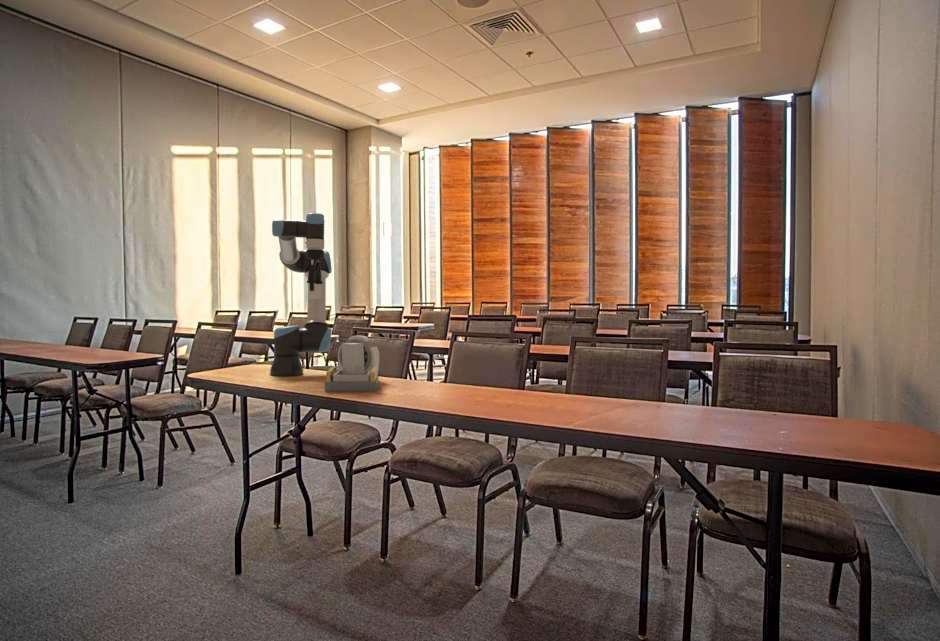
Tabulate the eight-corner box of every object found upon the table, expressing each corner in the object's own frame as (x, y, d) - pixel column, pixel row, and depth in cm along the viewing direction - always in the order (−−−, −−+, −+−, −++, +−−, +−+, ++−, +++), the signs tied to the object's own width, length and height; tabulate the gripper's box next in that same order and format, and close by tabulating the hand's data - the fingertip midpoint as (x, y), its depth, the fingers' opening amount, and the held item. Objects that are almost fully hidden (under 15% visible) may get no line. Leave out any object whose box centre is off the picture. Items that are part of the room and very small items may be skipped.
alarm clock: (336, 380, 257) (336, 335, 256) (345, 377, 265) (345, 334, 264) (372, 382, 252) (372, 337, 251) (380, 379, 260) (381, 335, 259)
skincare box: (364, 379, 234) (365, 343, 233) (352, 380, 230) (352, 343, 229) (353, 376, 240) (353, 341, 239) (341, 378, 236) (341, 342, 235)
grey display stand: (330, 388, 242) (331, 366, 241) (378, 388, 244) (378, 366, 243) (324, 394, 226) (325, 371, 225) (375, 394, 228) (376, 371, 227)
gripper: (311, 251, 258) (311, 298, 258) (300, 246, 233) (300, 298, 234) (328, 252, 258) (328, 298, 259) (319, 247, 234) (318, 298, 234)
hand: (314, 298), depth 246 cm, fingers open, 13 cm apart
